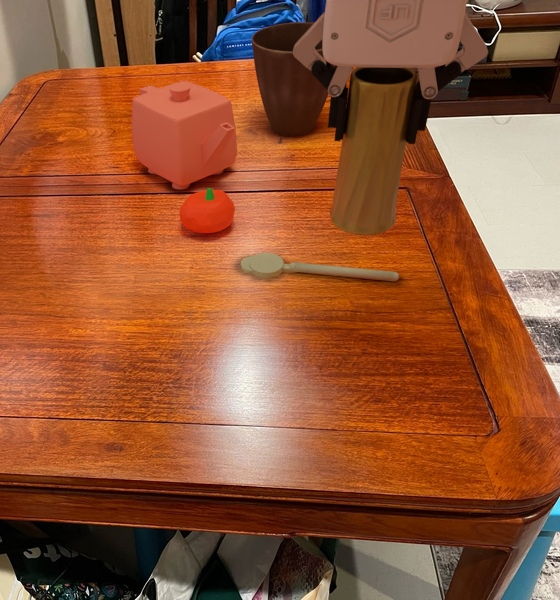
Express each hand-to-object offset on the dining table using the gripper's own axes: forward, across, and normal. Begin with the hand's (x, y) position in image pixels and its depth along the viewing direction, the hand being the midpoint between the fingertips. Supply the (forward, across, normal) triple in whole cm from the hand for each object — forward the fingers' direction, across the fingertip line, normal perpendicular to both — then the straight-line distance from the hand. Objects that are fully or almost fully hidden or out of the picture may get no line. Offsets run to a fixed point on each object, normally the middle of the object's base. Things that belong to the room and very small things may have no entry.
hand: (374, 134), depth 55 cm
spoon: (+24, -4, +10) cm, 26 cm away
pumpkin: (+24, -20, +18) cm, 36 cm away
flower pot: (+24, -11, +52) cm, 59 cm away
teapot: (+24, -26, +35) cm, 50 cm away
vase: (+9, 0, 0) cm, 9 cm away
